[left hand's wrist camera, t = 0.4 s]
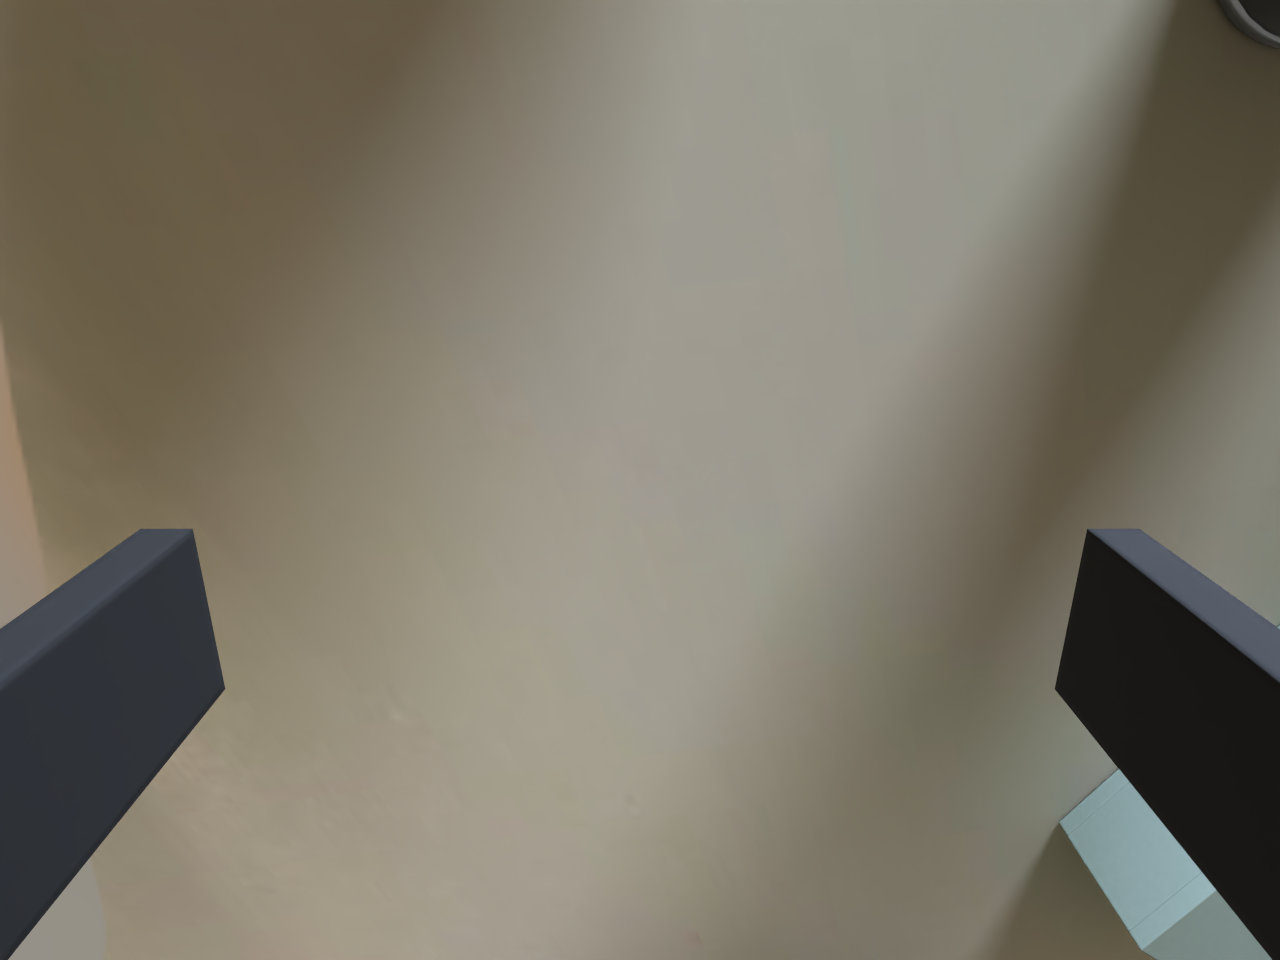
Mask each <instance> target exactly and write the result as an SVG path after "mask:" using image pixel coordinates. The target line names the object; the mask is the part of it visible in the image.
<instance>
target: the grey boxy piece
mask: <svg viewBox="0 0 1280 960" xmlns="http://www.w3.org/2000/svg"><path fill="white" fill-rule="evenodd" d="M1277 628H1279V629H1280V625H1279V626H1278V627H1277ZM1059 824H1060V825H1061V827H1062V828H1063V830H1064V831H1065V833H1066V834H1067V836H1068V838H1069V839H1070V841H1071V843H1072V844H1073V846H1074V847H1075V849H1076V850H1077V852H1078V853H1079V855H1080V857H1081V858H1082V860H1083V861H1084V863H1085V864H1086V866H1087V867H1088V869H1089V871H1090V872H1091V874H1092V875H1093V877H1094V878H1095V880H1096V881H1097V883H1098V885H1099V886H1100V888H1101V889H1102V891H1103V892H1104V894H1105V895H1106V897H1107V898H1108V900H1109V902H1110V903H1111V905H1112V906H1113V908H1114V909H1115V911H1116V912H1117V914H1118V916H1119V917H1120V919H1121V920H1122V922H1123V923H1124V925H1125V926H1126V928H1127V930H1128V931H1129V933H1130V934H1131V936H1132V937H1133V939H1134V940H1135V942H1136V944H1137V945H1138V947H1139V948H1140V950H1141V951H1143V952H1145V953H1146V954H1148V955H1149V956H1151V957H1153V958H1154V959H1156V960H1272V959H1271V958H1270V956H1269V955H1268V954H1267V953H1266V951H1265V950H1264V949H1263V948H1262V946H1261V945H1260V944H1259V943H1258V941H1257V940H1256V939H1255V938H1254V936H1253V935H1252V934H1251V933H1250V931H1249V930H1248V929H1247V928H1246V926H1245V925H1244V924H1243V923H1242V921H1241V920H1240V919H1239V918H1238V916H1237V915H1236V914H1235V913H1234V911H1233V910H1232V909H1231V908H1230V906H1229V905H1228V904H1227V903H1226V901H1225V900H1224V899H1223V898H1222V896H1221V895H1220V894H1219V893H1218V892H1217V890H1216V889H1215V888H1214V887H1213V885H1212V884H1211V883H1210V882H1209V880H1208V879H1207V878H1206V877H1205V875H1204V874H1203V873H1202V872H1201V870H1200V869H1199V868H1198V867H1197V865H1196V864H1195V863H1194V862H1193V860H1192V859H1191V858H1190V857H1189V855H1188V854H1187V853H1186V852H1185V850H1184V849H1183V848H1182V847H1181V845H1180V844H1179V843H1178V842H1177V840H1176V839H1175V838H1174V837H1173V835H1172V834H1171V833H1170V832H1169V830H1168V829H1167V828H1166V827H1165V825H1164V824H1163V823H1162V822H1161V821H1160V819H1159V818H1158V817H1157V816H1156V814H1155V813H1154V812H1153V811H1152V809H1151V808H1150V807H1149V806H1148V804H1147V803H1146V802H1145V801H1144V799H1143V798H1142V797H1141V796H1140V794H1139V793H1138V792H1137V791H1136V789H1135V788H1134V787H1133V786H1132V784H1131V783H1130V782H1129V781H1128V779H1127V778H1126V777H1125V776H1124V774H1123V773H1122V772H1121V771H1120V769H1118V770H1117V771H1116V772H1115V773H1113V774H1112V775H1111V776H1110V777H1109V778H1108V779H1107V780H1106V781H1104V782H1103V783H1102V784H1101V785H1100V786H1099V787H1098V788H1097V789H1095V790H1094V791H1093V792H1092V793H1091V794H1090V795H1089V796H1088V797H1087V798H1085V799H1084V800H1083V801H1082V802H1081V803H1080V804H1079V805H1078V806H1076V807H1075V808H1074V809H1073V810H1072V811H1071V812H1070V813H1069V814H1067V815H1066V816H1065V817H1064V818H1063V819H1062V820H1061V821H1060V822H1059Z"/></svg>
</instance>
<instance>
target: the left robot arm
mask: <svg viewBox="0 0 1280 960" xmlns="http://www.w3.org/2000/svg"><path fill="white" fill-rule="evenodd" d="M224 690H225V686H224V681H223V676H222V671H221V666H220V661H219V656H218V651H217V646H216V642H215V637H214V632H213V627H212V622H211V617H210V612H209V607H208V602H207V597H206V592H205V587H204V582H203V577H202V572H201V568H200V563H199V558H198V553H197V548H196V543H195V538H194V533H193V529H140V530H138V531H137V532H136V533H134V534H133V535H131V536H130V537H129V538H127V539H126V540H124V541H123V542H122V543H120V544H119V545H117V546H116V547H115V548H113V549H112V550H110V551H109V552H108V553H106V554H105V555H103V556H102V557H101V558H99V559H98V560H96V561H95V562H94V563H92V564H91V565H89V566H88V567H87V568H85V569H84V570H82V571H81V572H80V573H78V574H77V575H75V576H74V577H73V578H71V579H70V580H68V581H67V582H66V583H64V584H63V585H61V586H60V587H59V588H57V589H56V590H54V591H53V592H52V593H50V594H49V595H47V596H46V597H45V598H43V599H42V600H40V601H39V602H38V603H36V604H35V605H33V606H32V607H31V608H29V609H28V610H26V611H25V612H24V613H22V614H21V615H20V616H18V617H17V618H15V619H14V620H12V621H11V622H10V623H8V624H7V625H5V626H4V627H3V628H1V629H0V960H8V959H9V958H10V956H11V955H12V954H13V953H14V951H15V950H16V949H17V948H18V946H19V945H20V944H21V942H22V941H23V940H24V939H25V938H26V936H27V935H28V934H29V933H30V931H31V930H32V929H33V928H34V926H35V925H36V924H37V923H38V921H39V920H40V919H41V918H42V916H43V915H44V914H45V913H46V911H47V910H48V909H49V908H50V906H51V905H52V904H53V903H54V901H55V900H56V899H57V898H58V896H59V895H60V894H61V893H62V891H63V890H64V889H65V888H66V887H67V885H68V884H69V883H70V882H71V880H72V879H73V878H74V877H75V875H76V874H77V873H78V872H79V870H80V869H81V868H82V867H83V865H84V864H85V863H86V862H87V860H88V859H89V858H90V857H91V855H92V854H93V853H94V852H95V850H96V849H97V848H98V847H99V845H100V844H101V843H102V842H103V840H104V839H105V838H106V837H107V835H108V834H109V833H110V832H111V830H112V829H113V828H114V827H115V825H116V824H117V823H118V822H119V821H120V819H121V818H122V817H123V816H124V814H125V813H126V812H127V811H128V809H129V808H130V807H131V806H132V804H133V803H134V802H135V801H136V799H137V798H138V797H139V796H140V794H141V793H142V792H143V791H144V789H145V788H146V787H147V786H148V784H149V783H150V782H151V781H152V779H153V778H154V777H155V776H156V774H157V773H158V772H159V771H160V769H161V768H162V767H163V766H164V764H165V763H166V762H167V761H168V759H169V758H170V757H171V756H172V754H173V753H174V752H175V751H176V749H177V748H178V747H179V746H180V745H181V743H182V742H183V741H184V740H185V738H186V737H187V736H188V735H189V733H190V732H191V731H192V730H193V728H194V727H195V726H196V725H197V723H198V722H199V721H200V720H201V718H202V717H203V716H204V715H205V713H206V712H207V711H208V710H209V708H210V707H211V706H212V705H213V703H214V702H215V701H216V700H217V698H218V697H219V696H220V695H221V693H222V692H223V691H224ZM1055 690H1056V691H1057V692H1058V693H1059V695H1060V696H1061V697H1062V698H1063V700H1064V701H1065V702H1066V703H1067V705H1068V706H1069V707H1070V708H1071V710H1072V711H1073V712H1074V713H1075V715H1076V716H1077V717H1078V718H1079V720H1080V721H1081V722H1082V723H1083V725H1084V726H1085V727H1086V728H1087V730H1088V731H1089V732H1090V733H1091V735H1092V736H1093V737H1094V738H1095V740H1096V741H1097V742H1098V743H1099V745H1100V746H1101V747H1102V748H1103V749H1104V751H1105V752H1106V753H1107V754H1108V756H1109V757H1110V758H1111V759H1112V761H1113V762H1114V763H1115V764H1116V766H1117V767H1118V768H1119V769H1120V771H1121V772H1122V773H1123V774H1124V776H1125V777H1126V778H1127V779H1128V781H1129V782H1130V783H1131V784H1132V786H1133V787H1134V788H1135V789H1136V791H1137V792H1138V793H1139V794H1140V796H1141V797H1142V798H1143V799H1144V801H1145V802H1146V803H1147V804H1148V806H1149V807H1150V808H1151V809H1152V811H1153V812H1154V813H1155V814H1156V816H1157V817H1158V818H1159V819H1160V821H1161V822H1162V823H1163V824H1164V825H1165V827H1166V828H1167V829H1168V830H1169V832H1170V833H1171V834H1172V835H1173V837H1174V838H1175V839H1176V840H1177V842H1178V843H1179V844H1180V845H1181V847H1182V848H1183V849H1184V850H1185V852H1186V853H1187V854H1188V855H1189V857H1190V858H1191V859H1192V860H1193V862H1194V863H1195V864H1196V865H1197V867H1198V868H1199V869H1200V870H1201V872H1202V873H1203V874H1204V875H1205V877H1206V878H1207V879H1208V880H1209V882H1210V883H1211V884H1212V885H1213V887H1214V888H1215V889H1216V890H1217V892H1218V893H1219V894H1220V895H1221V896H1222V898H1223V899H1224V900H1225V901H1226V903H1227V904H1228V905H1229V906H1230V908H1231V909H1232V910H1233V911H1234V913H1235V914H1236V915H1237V916H1238V918H1239V919H1240V920H1241V921H1242V923H1243V924H1244V925H1245V926H1246V928H1247V929H1248V930H1249V931H1250V933H1251V934H1252V935H1253V936H1254V938H1255V939H1256V940H1257V941H1258V943H1259V944H1260V945H1261V946H1262V948H1263V949H1264V950H1265V951H1266V953H1267V954H1268V955H1269V956H1270V958H1271V959H1272V960H1280V629H1279V628H1277V627H1276V626H1275V625H1273V624H1272V623H1270V622H1269V621H1268V620H1266V619H1265V618H1263V617H1262V616H1261V615H1259V614H1258V613H1256V612H1255V611H1254V610H1252V609H1251V608H1249V607H1248V606H1247V605H1245V604H1244V603H1242V602H1241V601H1240V600H1238V599H1237V598H1235V597H1234V596H1233V595H1231V594H1230V593H1228V592H1227V591H1226V590H1224V589H1223V588H1221V587H1220V586H1219V585H1217V584H1216V583H1214V582H1213V581H1212V580H1210V579H1209V578H1207V577H1206V576H1205V575H1203V574H1202V573H1200V572H1199V571H1198V570H1196V569H1195V568H1193V567H1192V566H1191V565H1189V564H1188V563H1186V562H1185V561H1184V560H1182V559H1181V558H1179V557H1178V556H1177V555H1175V554H1174V553H1172V552H1171V551H1170V550H1168V549H1167V548H1165V547H1164V546H1163V545H1161V544H1160V543H1158V542H1157V541H1156V540H1154V539H1153V538H1151V537H1150V536H1149V535H1147V534H1146V533H1144V532H1143V531H1142V530H1140V529H1087V533H1086V538H1085V543H1084V548H1083V553H1082V558H1081V563H1080V568H1079V572H1078V577H1077V582H1076V587H1075V592H1074V597H1073V602H1072V607H1071V612H1070V617H1069V622H1068V627H1067V632H1066V637H1065V642H1064V646H1063V651H1062V656H1061V661H1060V666H1059V671H1058V676H1057V681H1056V686H1055Z"/></svg>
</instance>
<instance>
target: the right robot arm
mask: <svg viewBox="0 0 1280 960" xmlns="http://www.w3.org/2000/svg"><path fill="white" fill-rule="evenodd" d="M1218 1H1219V3H1220V5H1221V7H1222V9H1223V10H1224V12H1225V13H1226V15H1227V16H1228V17H1229V19H1230V20H1231V21H1232V22H1233V23H1234V24H1235V25H1236V26H1237V27H1238V28H1239V29H1240V30H1241V31H1242V32H1244V33H1245V34H1246V35H1248V36H1249V37H1251V38H1252V39H1254V40H1256V41H1258V42H1260V43H1262V44H1265V45H1268V46H1271V47H1275V48H1280V0H1218Z"/></svg>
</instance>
